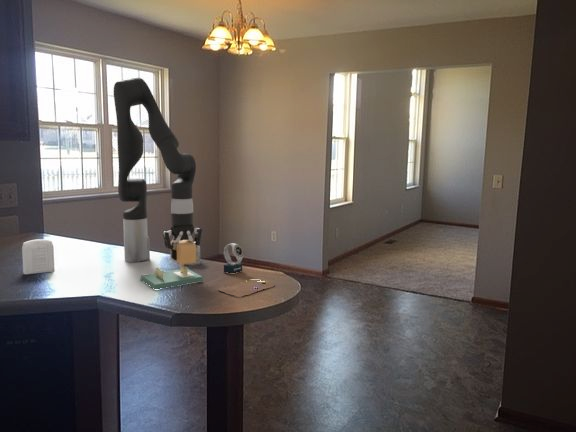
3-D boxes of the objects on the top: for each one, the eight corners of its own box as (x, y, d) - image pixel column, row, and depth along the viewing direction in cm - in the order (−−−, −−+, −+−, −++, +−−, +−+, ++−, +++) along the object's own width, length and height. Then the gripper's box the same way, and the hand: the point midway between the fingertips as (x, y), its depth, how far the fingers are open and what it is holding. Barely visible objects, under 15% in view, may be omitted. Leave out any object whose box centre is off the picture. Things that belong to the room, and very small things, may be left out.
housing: (185, 257, 174) (184, 239, 173) (196, 262, 167) (195, 244, 166) (170, 259, 171) (170, 241, 170) (180, 264, 163) (180, 245, 162)
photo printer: (53, 269, 180) (52, 237, 178) (55, 271, 177) (53, 239, 175) (22, 272, 175) (20, 239, 173) (24, 275, 171) (21, 241, 169)
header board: (186, 273, 178) (186, 260, 177) (202, 282, 167) (202, 268, 166) (141, 280, 168) (141, 266, 167) (155, 290, 157) (155, 275, 156)
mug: (192, 260, 197) (192, 244, 196) (203, 263, 193) (203, 246, 192) (173, 265, 189) (173, 248, 188) (185, 268, 185) (184, 251, 184)
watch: (236, 275, 176) (236, 246, 174) (220, 271, 181) (220, 243, 179) (246, 272, 181) (246, 243, 179) (230, 268, 185) (230, 241, 183)
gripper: (196, 208, 173) (197, 254, 176) (158, 211, 165) (159, 259, 167) (205, 211, 167) (206, 258, 170) (166, 214, 159) (167, 263, 161)
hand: (183, 258), depth 169 cm, fingers closed on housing, 5 cm apart
